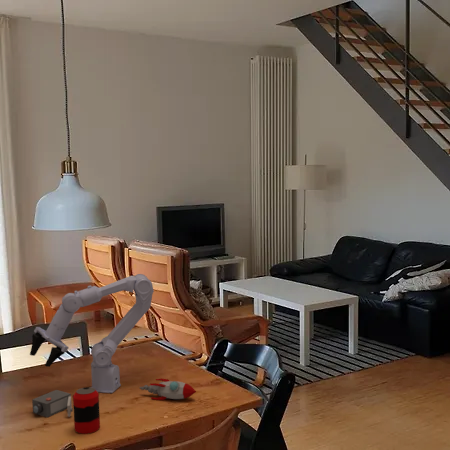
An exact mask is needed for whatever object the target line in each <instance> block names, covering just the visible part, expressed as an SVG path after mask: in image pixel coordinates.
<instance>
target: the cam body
mask: <svg viewBox="0 0 450 450" xmlns="http://www.w3.org/2000/svg"><path fill="white" fill-rule="evenodd" d="M69 396H71V397H72V394H71V393H69V392H66V391H62V390H58V389H55V390H52V391H50V392H48V393H45V394H42V395H40V396H37V397H34V398H33V399H32V400H31V401H32V413H33V414H35V415H38V416H41V417H43V418H50V417H52V416H54V415H56V414H58V413H61V412H63V411H65V410H67V404H68V397H69Z"/></svg>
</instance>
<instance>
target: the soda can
mask: <svg viewBox="0 0 450 450" xmlns="http://www.w3.org/2000/svg"><path fill="white" fill-rule="evenodd" d="M91 387H92V386H89V387H81V388H78V389H77V390H76V391H75V392H74V394H73V395H72V401H73V403H72V404H73V424H74V425H73V427H74V431H75V432H76V433H77V432H78V434H80V433H81V434H82V435H86V434H87V435H88V433H89V434H92V433H95V432H97V431H98V430H99V429H100V428H101V419H100V417H101V416H100V398H99V397H100V396H99V393H100V392H97V391H96V390H95V389H94V388H91Z"/></svg>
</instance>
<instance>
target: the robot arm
mask: <svg viewBox="0 0 450 450" xmlns="http://www.w3.org/2000/svg"><path fill="white" fill-rule="evenodd" d="M122 291H126V292H130V293H134V297H135V303H134V304H133V306H131V308H130V309H129V310H128V311H127V312H126V314H125V315H124V316H123V317H122V318H121V319H120V321H119V322H118V323H117V324H116V325H115V326H114V328H112V330H111V331H110V332H109V333H108V335H107V336H105V337H103V338H102V339H101V340H100V341H99V342H96V343H94V345H93V346H92V347H91V349H90V353H91V356H92V362H91V363H90V367H91V368H90V369H91V372H90V373H91V386H90V387H91V388H94V389H95V390H96V391H97V392H98V393H108V394H113V393H114V392H115V391H116V390H117V389H119V387H122V384H121V380H120V379H121V378H120V367H119V365H117V364H114V363H113V362H112V357H113V355H115V353H116V351H117V348H118V346H119V345H120V344H121V342H122V341H123V340H124V339H125V338H126V337H127V336H128V335H129V333H130V332H131V331H132V329H133V328H135V326H136V325H137V324H138V323H139V321H140V320H141V319H142V318H143V317H144V316H145V314H146V313H147V312H148V311H149V310H150V308H151V306H152V299H153V295H154V292H155V291H154V286H153V282H152V281H151V280H150V279H149V278H148V277H147V276H146V275H145V274H143V273H137V274H135V275H130V276H127V277H124V278H122V279H119V280H116V281H114V282H111V283H109V284H106V285H103V286H101V287H98V286H96V285H93V286H92V285H90V284H89V285H87V288H84V289H80V290H74V293H73V292H68V293H66V294H65V295H64V296H62V299H61V304H60V305H59V307H58V309H57V310H56V312H55V314H54V315H53V317H52V319H51V322H50V323H49V325H48V327H47V329H46V330H45V329H43V328H41V326H36V327H35V328H34V330H33V332H34V333H32V335H31V337H32V340H31V341H32V342H31V348H30V353H29V355H30V356H32V357H33V356H36V355H37V352H38V351H39V350H40V347H41V346H42V345H43V344H44V342H45V341H47V342H49V343H51V344H52V345H53V346H52V347H51V350H50V353H49V356H48V358H47V359H46V362H45V363H44V366H45V367H51V366H52V365H53V364H54V362H56V360H57V359H58V358H60V357H61V356H63V355H64V354H65V353H66V352H67V351H68V349H69V346H68V345H66V343H64V342H63V341H62V340H61V339H62V338H63V336H64V334H65V332H66V330H67V328H68V326H69V325H70V322H71V321H72V319H73V316H74V314H75V313H76V312H77V311H78V310H80V308H83V307H88V306H90V305H93V304H95V303H98V302H100V301H101V300H102V298H103V297H106V296H109V295H112V294H115V293H119V292H122ZM54 346H55V347H54Z"/></svg>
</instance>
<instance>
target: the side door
mask: <svg viewBox="0 0 450 450" xmlns="http://www.w3.org/2000/svg"><path fill="white" fill-rule="evenodd" d="M66 410H67V418H69V417H71V414H72V412H73V413H74V407H72V395H71V396H69V397H68V404H67V409H66Z"/></svg>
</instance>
